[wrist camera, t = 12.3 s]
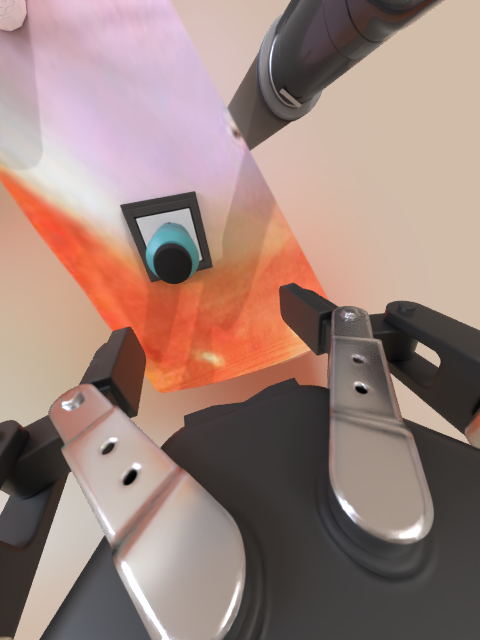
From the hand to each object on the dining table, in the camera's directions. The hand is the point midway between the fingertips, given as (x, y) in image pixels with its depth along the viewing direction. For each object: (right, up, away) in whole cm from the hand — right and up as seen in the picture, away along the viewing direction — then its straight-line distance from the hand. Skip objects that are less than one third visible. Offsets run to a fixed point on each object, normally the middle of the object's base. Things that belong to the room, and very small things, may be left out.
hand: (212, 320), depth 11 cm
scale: (-12, +16, +30) cm, 36 cm away
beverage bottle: (-11, +15, +27) cm, 33 cm away
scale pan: (-12, +15, +28) cm, 34 cm away
